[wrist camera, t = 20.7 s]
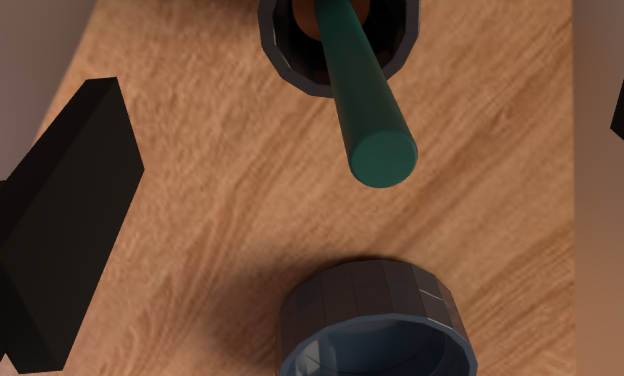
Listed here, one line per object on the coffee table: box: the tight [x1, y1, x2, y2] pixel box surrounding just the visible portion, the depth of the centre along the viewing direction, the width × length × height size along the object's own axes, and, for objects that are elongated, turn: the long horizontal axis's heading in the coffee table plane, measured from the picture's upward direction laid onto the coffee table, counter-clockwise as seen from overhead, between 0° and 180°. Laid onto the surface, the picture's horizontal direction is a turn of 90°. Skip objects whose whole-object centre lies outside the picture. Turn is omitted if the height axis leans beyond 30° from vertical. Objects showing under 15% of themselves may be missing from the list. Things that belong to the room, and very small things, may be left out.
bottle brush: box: [291, 0, 418, 188], centre depth 20 cm, size 4×4×19 cm
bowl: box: [275, 259, 478, 376], centre depth 41 cm, size 15×15×6 cm
